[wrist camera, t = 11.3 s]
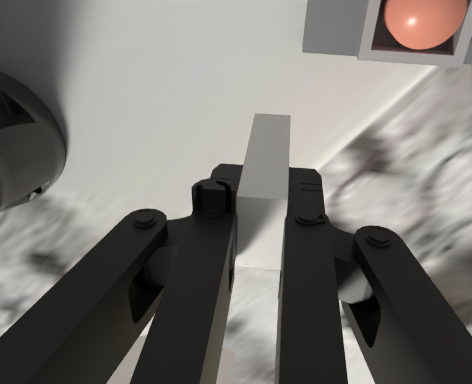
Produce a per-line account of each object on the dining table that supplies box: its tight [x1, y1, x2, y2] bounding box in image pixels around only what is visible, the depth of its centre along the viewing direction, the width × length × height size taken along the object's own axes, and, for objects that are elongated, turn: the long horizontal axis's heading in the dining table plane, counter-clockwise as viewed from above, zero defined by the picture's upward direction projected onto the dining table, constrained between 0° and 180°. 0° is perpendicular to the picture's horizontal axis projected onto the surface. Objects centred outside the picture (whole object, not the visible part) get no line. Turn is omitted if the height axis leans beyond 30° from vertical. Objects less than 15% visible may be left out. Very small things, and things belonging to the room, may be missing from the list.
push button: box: [382, 0, 467, 49], centre depth 29 cm, size 5×5×3 cm
